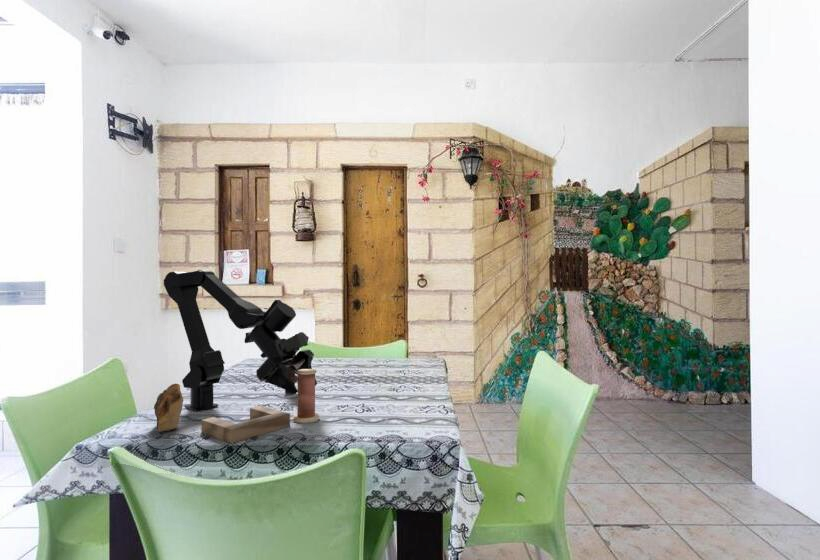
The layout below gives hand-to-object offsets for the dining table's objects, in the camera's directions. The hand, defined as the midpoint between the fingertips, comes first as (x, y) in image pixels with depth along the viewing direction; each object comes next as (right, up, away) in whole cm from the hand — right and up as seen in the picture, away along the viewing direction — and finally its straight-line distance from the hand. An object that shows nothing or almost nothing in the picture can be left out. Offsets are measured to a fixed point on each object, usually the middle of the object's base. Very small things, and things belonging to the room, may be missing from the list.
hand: (306, 388), depth 122 cm
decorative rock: (-31, -8, -8) cm, 33 cm away
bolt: (-11, -8, +28) cm, 32 cm away
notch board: (-12, -8, -8) cm, 17 cm away
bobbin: (0, -8, 0) cm, 8 cm away
